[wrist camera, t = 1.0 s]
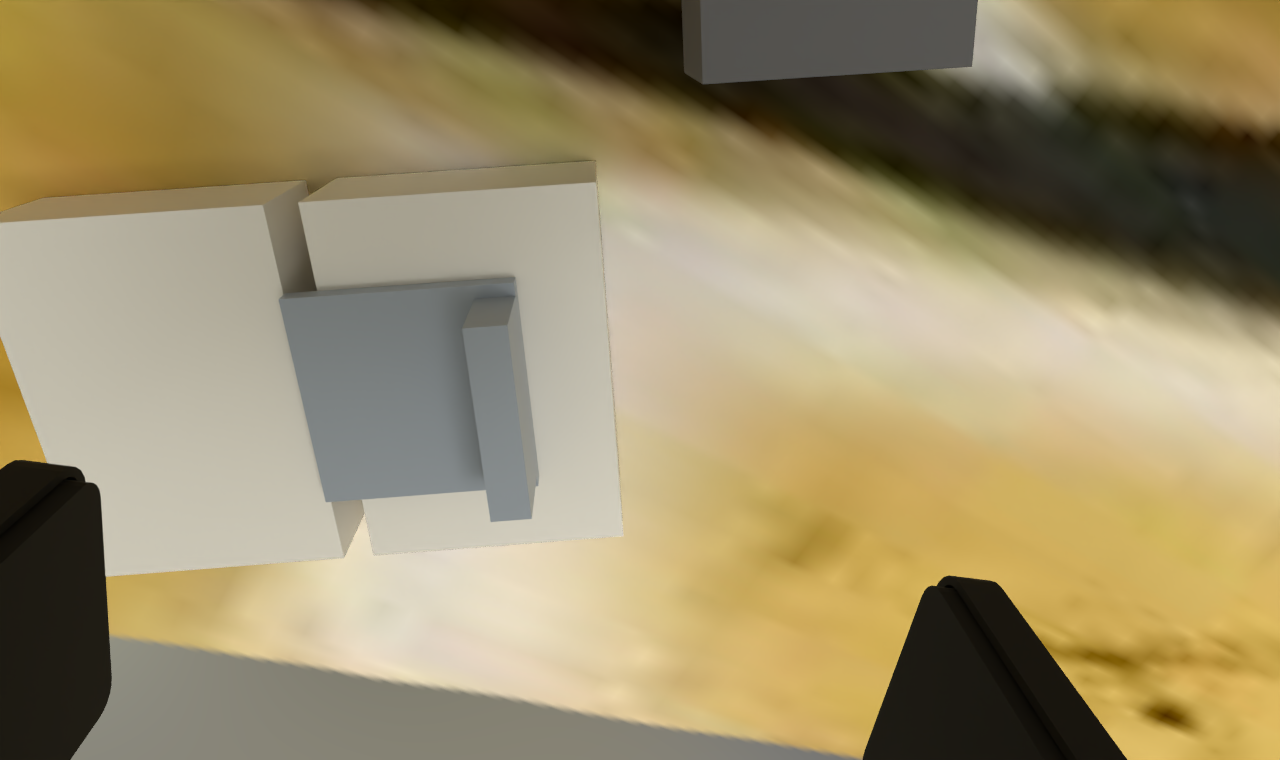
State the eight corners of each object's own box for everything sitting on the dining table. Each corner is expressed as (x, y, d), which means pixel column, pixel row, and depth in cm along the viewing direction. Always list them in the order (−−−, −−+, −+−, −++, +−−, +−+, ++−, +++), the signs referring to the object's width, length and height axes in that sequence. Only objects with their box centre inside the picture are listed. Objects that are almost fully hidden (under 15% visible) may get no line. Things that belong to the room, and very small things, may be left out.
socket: (595, 160, 28) (596, 182, 25) (619, 478, 33) (623, 536, 29) (42, 197, 28) (-41, 225, 24) (146, 514, 33) (90, 577, 29)
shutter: (515, 277, 26) (505, 310, 23) (539, 476, 28) (533, 530, 25) (285, 293, 25) (245, 329, 22) (330, 492, 28) (300, 548, 25)
